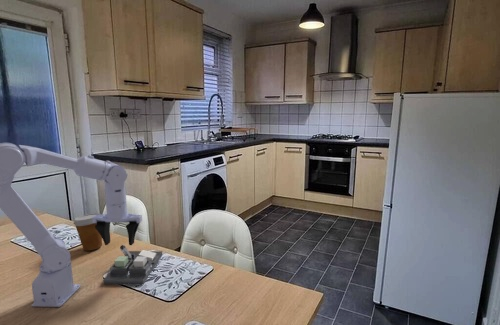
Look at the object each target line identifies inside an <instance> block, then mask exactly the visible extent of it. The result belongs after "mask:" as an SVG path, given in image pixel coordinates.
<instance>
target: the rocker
mask: <svg viewBox="0 0 500 325" xmlns="http://www.w3.org/2000/svg"><path fill="white" fill-rule="evenodd" d="M140 251H141V252H140V254H139V255H138V256H144V257H147V260H153V259H154V257H155V256H156V253H154V252H150V251H151V250H150V251H149V250H146V249H142V250H140Z"/></svg>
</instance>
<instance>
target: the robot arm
mask: <svg viewBox="0 0 500 325" xmlns="http://www.w3.org/2000/svg"><path fill="white" fill-rule="evenodd" d="M24 164H25V165H26V166H27V167H31V166H35V165H38V164H44V165H48V166H54V167H57V168H58V167H59V168H63V169H69V170H73V172H74V173H75V174H76V175H77V176H78V177H84V178H88V179H92V180H96V181H104V196H105V197H104V198H105V206H106V208H105V209H106V214H101V215H95V216H94V217H93V223H97V225H95V229H96V230H97V231H98V232H99V233H100V235H101V237H102V242H103V243H104V246H108V245H109V244H110V243H111V230H110V228H111V223H127V225H125V229H126V231H127V237H128V245H129V246H133V245H134V244H135V238H136V234H137V231H138V228H139V226H140V223H142V222H143V215H141V214H132V213H128V206H127V192H126V186H125V184H126V180H127V179H128V173H127V171H126V169H125V168H124V167H123V166H121V165H119V164H116V163H114V162H111V161H110V160H106V161H104V160H101V159H97V158H95V157H94V155H90V154H88V155H87V156H86V155H81V156H80V157H78V158H75V157H71V156H68V155H64V154H61V153H57V152H54V151H51V150H47V149H43V148H40V147H35V146H30V145H23V144H22V145H21V144H18V145H16V144H14V143H11V142H0V210H1V211H2V212H3V213H4V215H5V216H6V217H8V219H9V220H10V221H11V222H12V223H13V224H14V225H15V227H16V228H17V229H18V230H19V231H20V232H21V234H23V235H24V237H25V238H26V239H27V240H28V242H29V243H31V245H32V246H33V248H34V250H35V251H36V253H37V255H38V256H39V257H40V258H41V263H40V265H39V272H38V274H37V276H36V277H35V278H34V280H32V283H31V290H32V295H33V296H32V297H33V303H32V304H31V305H30V306H31V307H45V308H46V307H49V308H50V307H52V308H53V307H54V308H55V307H56V308H57V307H58V308H59V307H62V306H63V305H64V304H65V303H66V302H67V301H68V300H69V299H70V298H71V297H72V296H73V295H74V294H75V293H76V292H77V291H78V289H80V288H81V286H82V285H81V284H80V283H79V284H74V277H73V276H74V275H73V268H72V259H71V253H70V250H68V248H67V246H66V243H65V242H64V240H63V239H62V238H60V237H57V236H56V235H55V234H53V233H52V232H51V231H50V230H49V229H48V228H47V227H46V225H45V224H44V223H43V221H41V219H40V218H39V217H38V216H37V214H35V212H34V211H33V210H32V208H31V207H30V206H29V205H28V204H27V203H26V201H25V200H24V199H23V198H22V196H21V195H20V194H19V193H18V192H17V191H16V190H15V189H14V187H13V186H12V183H13V181H14V178H15V175H16V174H17V173H18V172H19V170H21V168H22V167H23V166H24Z"/></svg>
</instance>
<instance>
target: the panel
mask: <svg viewBox="0 0 500 325" xmlns="http://www.w3.org/2000/svg"><path fill="white" fill-rule="evenodd" d="M128 251H129V253H130V254H131V255H132V257H128V263H127V264H126V266H125V267H115V263H113V264H112V265H111V266H110V267H109V273H107V275H106V276H105V277H104V278H103V285H120V286H121V285H123V284H140V285H141V286H143V285H144V284H145V283H146V281H147V280H148V278H149V277H150V275H151V274H152V272H153V271H154V269H155V268H156V266H157V264H158V263H159V261H160V260H161V258H162V257H163V251H162V250H161V251H158V250H157V251H156V250H155V251H154V250H150V252H154V253H156V256H155V257H154V259H153V260H147V263H146V264H145V266H144V267H134V262H133V261H134V260H135V259H136V257H137V256H138V255H139V254H140V252H141V251H142V250H128ZM152 270H153V271H152ZM150 273H151V274H150ZM148 276H149V277H148ZM142 284H143V285H142ZM123 286H124V285H123Z"/></svg>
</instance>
